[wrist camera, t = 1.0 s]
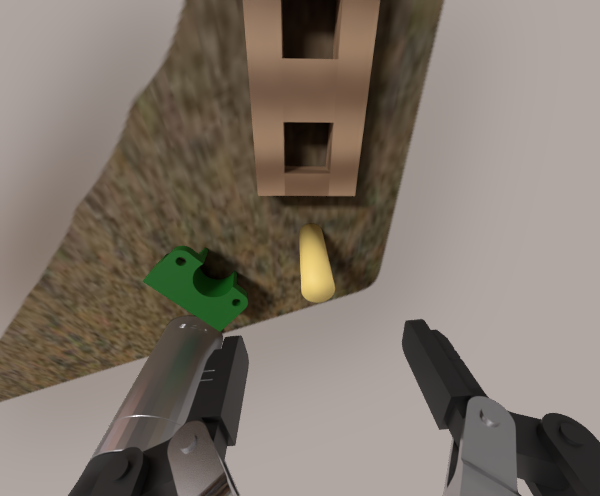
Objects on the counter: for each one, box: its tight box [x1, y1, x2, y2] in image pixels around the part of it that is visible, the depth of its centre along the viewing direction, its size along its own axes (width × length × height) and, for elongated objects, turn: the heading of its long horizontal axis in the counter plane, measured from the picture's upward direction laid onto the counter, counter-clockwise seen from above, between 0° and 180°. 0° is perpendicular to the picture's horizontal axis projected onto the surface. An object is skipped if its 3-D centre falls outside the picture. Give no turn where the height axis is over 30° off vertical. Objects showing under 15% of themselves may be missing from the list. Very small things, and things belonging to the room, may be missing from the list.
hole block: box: [243, 0, 380, 196], centre depth 22 cm, size 18×10×4 cm, turn 179°
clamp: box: [143, 246, 248, 332], centre depth 32 cm, size 12×6×9 cm, turn 35°
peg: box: [299, 223, 335, 302], centre depth 27 cm, size 3×3×11 cm
